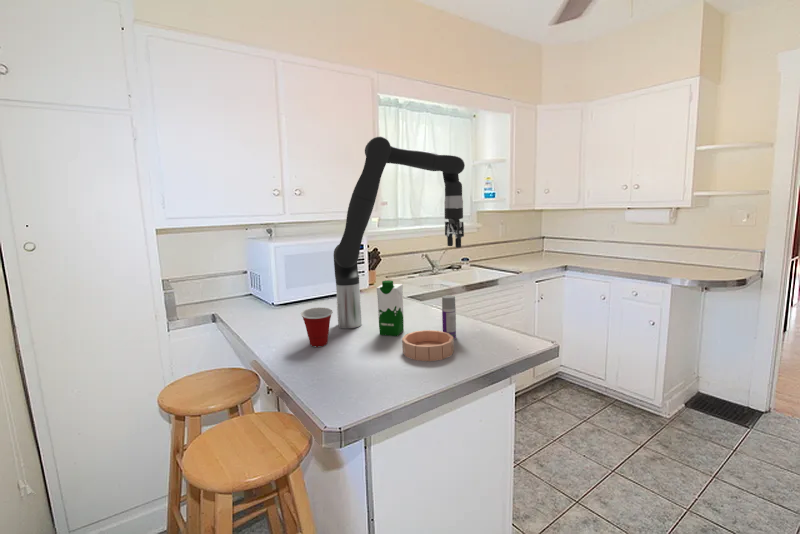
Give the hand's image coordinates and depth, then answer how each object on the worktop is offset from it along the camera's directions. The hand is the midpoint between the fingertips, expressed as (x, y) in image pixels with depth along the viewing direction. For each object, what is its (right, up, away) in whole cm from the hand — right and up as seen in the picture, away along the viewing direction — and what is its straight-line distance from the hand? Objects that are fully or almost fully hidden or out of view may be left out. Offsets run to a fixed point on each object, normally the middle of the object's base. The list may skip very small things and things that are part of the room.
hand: (454, 246), depth 167 cm
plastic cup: (-51, -36, -26) cm, 67 cm away
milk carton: (-25, -33, -16) cm, 45 cm away
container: (-5, -34, -25) cm, 42 cm away
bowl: (-13, -36, -37) cm, 53 cm away
